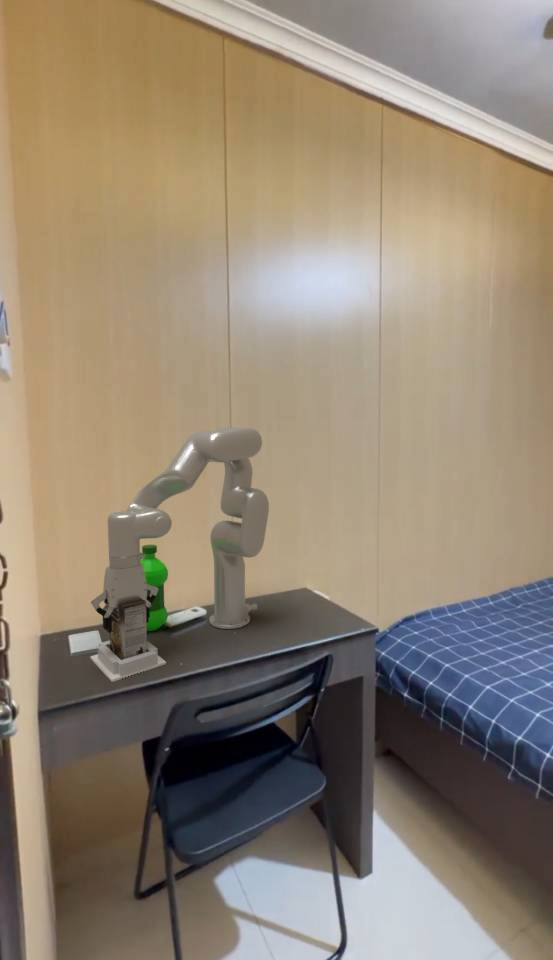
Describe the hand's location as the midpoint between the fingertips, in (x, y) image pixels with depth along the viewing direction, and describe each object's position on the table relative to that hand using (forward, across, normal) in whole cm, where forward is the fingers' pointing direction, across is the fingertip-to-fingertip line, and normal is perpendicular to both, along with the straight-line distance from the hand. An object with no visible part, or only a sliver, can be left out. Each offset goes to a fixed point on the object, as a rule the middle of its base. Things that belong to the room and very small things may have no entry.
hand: (127, 625), depth 124 cm
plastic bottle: (+10, -14, -16) cm, 23 cm away
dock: (+10, 0, 0) cm, 10 cm away
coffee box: (+9, 0, 0) cm, 9 cm away
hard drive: (+10, +5, -17) cm, 20 cm away
